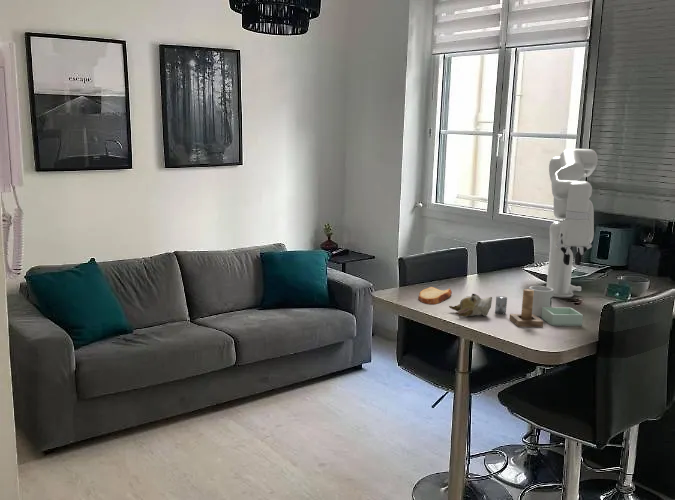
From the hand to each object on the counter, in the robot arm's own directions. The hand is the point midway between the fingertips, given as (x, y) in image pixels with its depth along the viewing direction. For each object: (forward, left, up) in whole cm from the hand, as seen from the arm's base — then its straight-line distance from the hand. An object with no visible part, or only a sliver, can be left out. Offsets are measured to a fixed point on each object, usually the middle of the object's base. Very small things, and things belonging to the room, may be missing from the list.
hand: (571, 264), depth 248 cm
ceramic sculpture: (+38, +4, -20) cm, 43 cm away
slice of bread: (+46, -22, -20) cm, 54 cm away
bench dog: (+26, 0, -19) cm, 32 cm away
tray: (+7, +11, -19) cm, 23 cm away
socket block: (+21, +13, -19) cm, 31 cm away
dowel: (+21, +13, -19) cm, 31 cm away
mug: (+11, 0, -20) cm, 22 cm away
